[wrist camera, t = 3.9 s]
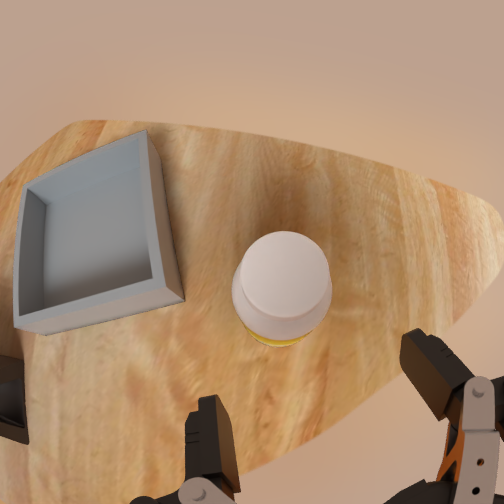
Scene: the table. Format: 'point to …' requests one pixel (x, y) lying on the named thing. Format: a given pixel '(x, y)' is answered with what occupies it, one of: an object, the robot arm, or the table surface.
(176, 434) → the table surface
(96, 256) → the bin
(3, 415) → the phone stand
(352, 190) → the table surface
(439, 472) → the robot arm
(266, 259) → the supplement bottle
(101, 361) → the table surface
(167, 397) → the table surface
